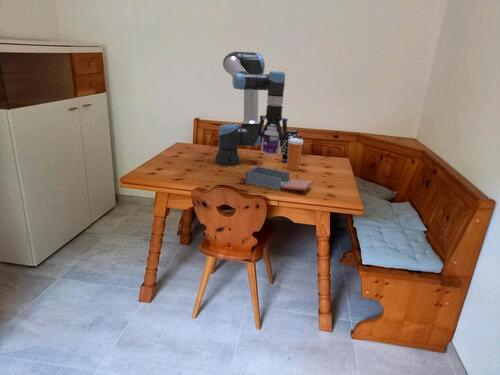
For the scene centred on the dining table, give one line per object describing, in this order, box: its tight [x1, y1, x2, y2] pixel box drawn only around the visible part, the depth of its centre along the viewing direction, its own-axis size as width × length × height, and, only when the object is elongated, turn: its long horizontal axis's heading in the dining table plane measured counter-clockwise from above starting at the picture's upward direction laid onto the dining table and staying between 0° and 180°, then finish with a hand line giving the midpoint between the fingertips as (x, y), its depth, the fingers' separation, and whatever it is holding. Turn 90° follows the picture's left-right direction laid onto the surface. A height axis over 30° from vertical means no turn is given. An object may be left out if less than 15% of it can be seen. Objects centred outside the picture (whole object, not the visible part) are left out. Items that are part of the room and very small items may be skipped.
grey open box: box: [245, 165, 291, 191], centre depth 180 cm, size 19×13×6 cm
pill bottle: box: [262, 124, 280, 157], centre depth 173 cm, size 8×8×14 cm
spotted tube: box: [281, 129, 299, 164], centre depth 220 cm, size 8×8×20 cm
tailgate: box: [280, 178, 314, 191], centre depth 173 cm, size 1×14×12 cm
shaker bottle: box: [286, 135, 304, 171], centre depth 206 cm, size 9×9×20 cm
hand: (270, 151), depth 175 cm, fingers closed on pill bottle, 8 cm apart
